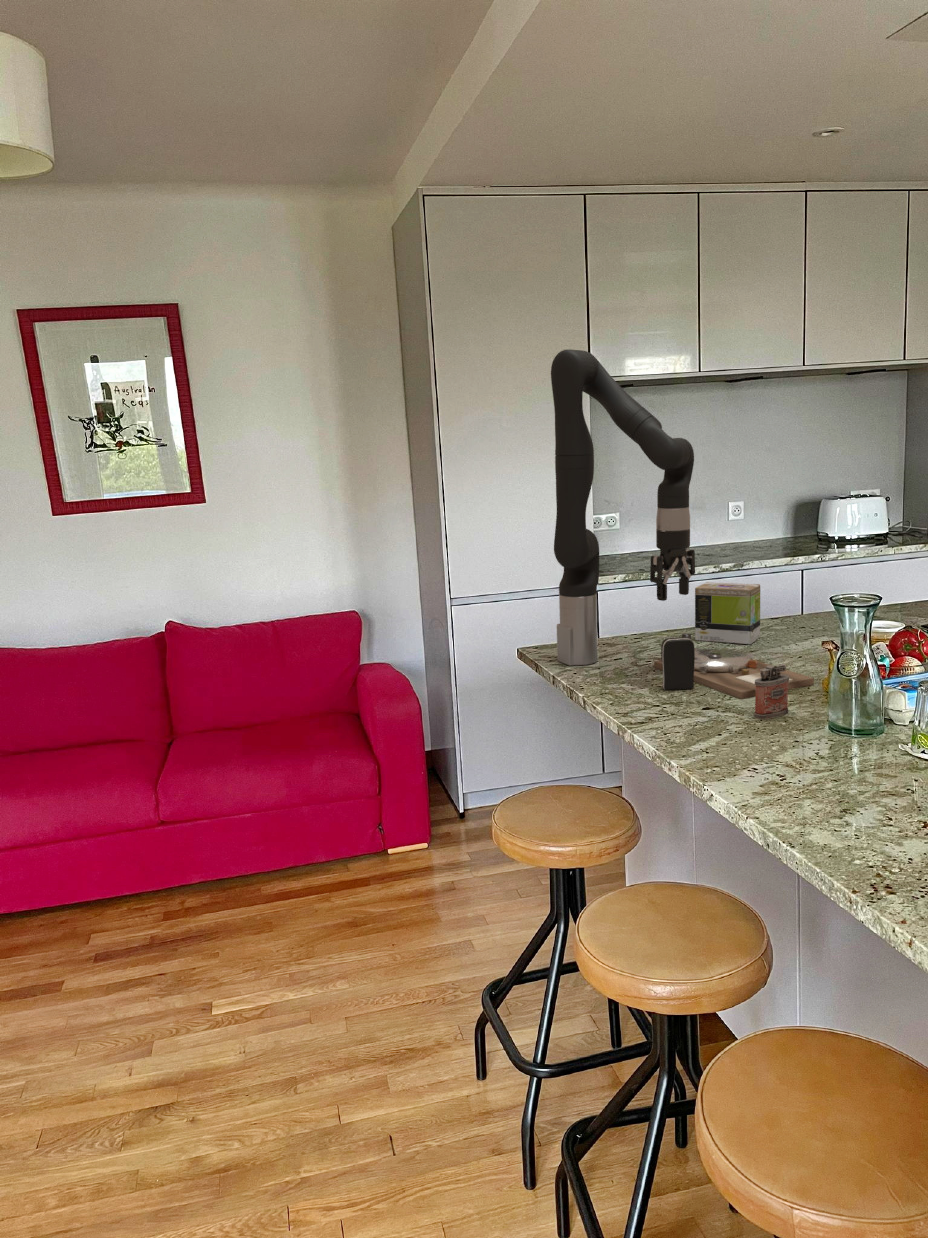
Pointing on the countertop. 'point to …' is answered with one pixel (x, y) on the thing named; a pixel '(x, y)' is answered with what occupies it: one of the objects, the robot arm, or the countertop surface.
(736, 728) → the countertop surface
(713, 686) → the board
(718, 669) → the sprocket
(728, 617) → the tea box
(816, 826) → the countertop surface
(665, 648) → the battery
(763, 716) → the lighter
